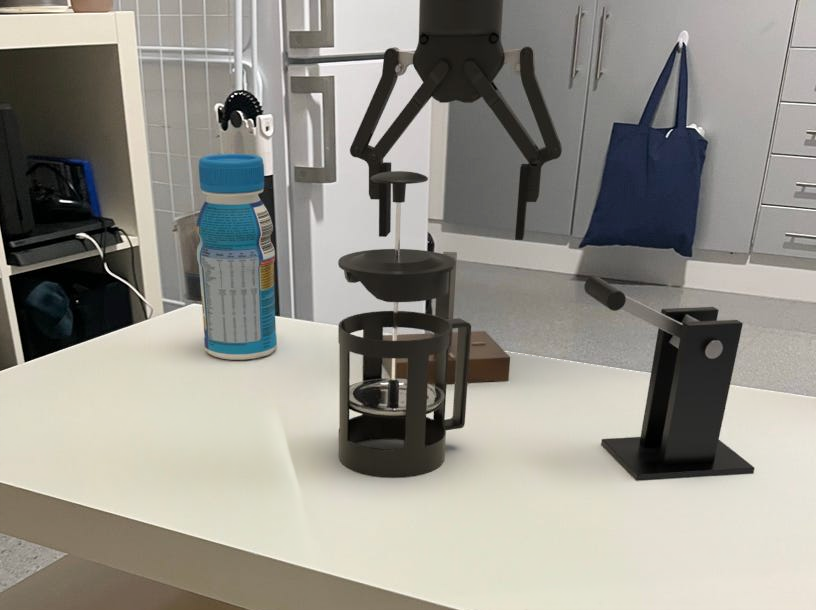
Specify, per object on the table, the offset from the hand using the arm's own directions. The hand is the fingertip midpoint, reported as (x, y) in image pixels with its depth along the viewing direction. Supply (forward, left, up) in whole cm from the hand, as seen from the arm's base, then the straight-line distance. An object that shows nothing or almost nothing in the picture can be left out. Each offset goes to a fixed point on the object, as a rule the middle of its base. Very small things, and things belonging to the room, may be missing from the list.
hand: (451, 236), depth 102 cm
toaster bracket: (-13, +30, -14) cm, 35 cm away
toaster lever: (-8, +30, -2) cm, 31 cm away
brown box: (0, 0, -14) cm, 14 cm away
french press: (+10, +26, -14) cm, 31 cm away
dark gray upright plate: (0, 0, -11) cm, 11 cm away
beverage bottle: (+21, -10, -14) cm, 27 cm away
